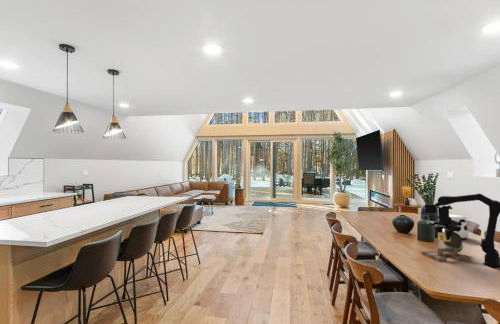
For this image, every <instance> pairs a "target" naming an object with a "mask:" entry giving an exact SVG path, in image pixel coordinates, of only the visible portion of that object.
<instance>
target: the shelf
mask: <svg viewBox="0 0 500 324" xmlns="http://www.w3.org/2000/svg"><path fill="white" fill-rule="evenodd" d="M420 253H421V255H422V256H425V257H427V258H430V259H432V260H435V261H437V262H447V259H448V258H452V259H454V260H456V261H466V260H467V256H465V255H462V254H460V253H459V252H458V248H455V247H452V248H445V247H444V248H443V247H442V248H441V247H438V248H437V249H435V250H434V249H433V250H429V249H428V250H421V251H420ZM446 256H448V258H447V257H446Z"/></svg>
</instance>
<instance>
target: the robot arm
mask: <svg viewBox="0 0 500 324" xmlns="http://www.w3.org/2000/svg"><path fill="white" fill-rule="evenodd" d="M473 201H475V202H476V201H479V202H482V203H483V204H484V205H486V206H488V212H489V215H488V216H489V217H488V221H487V225H486V226H487V227H486V233H485V236H484V238H480V239H481V242H480V244H479V245H480V246H479V247H480V248H481V251H482V252H483V253H484V256H483V258H484V259H483V260H484V261H483V262H484V263H483V262H482V265H484V266H487V267H489V268H493V269H497V268H498V269H499V268H500V253H499V251H498V250H497V249H496V248H495V236H496V235H495V233H496V229H497V224H498V218H499V216H500V201H498V200H496V199H495V200H494V199H492V198H489V197H487V196H485V195H483V194H482V193H474V194H466V195H457V196H454V195H453V196H451V195H442V196H440V197H438V198H437V202H436V203H434V204H430V203H425V205H424V207H425V208H424V213H425V215H436V214H438V215H437V216H436V218H437V219H438V220H430V221H429V222H428V223H429V226H431V227H432V228H433V229H434V230H435V232H436V233H437V234H438V232H443V231H442V229H443V228H444V227H445V228H447V230H445V234H446V238H447V240H449V239H450V237H451V235H452V233H453V232H454V231H460V227H459V226H457V224H458V222H457V221H454V220H451V217H449V214H450V210H453V207H452V206H451V205H452V204H456V203H463V202H473Z"/></svg>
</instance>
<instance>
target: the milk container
mask: <svg viewBox="0 0 500 324" xmlns="http://www.w3.org/2000/svg"><path fill="white" fill-rule="evenodd" d="M449 217H451V220H454V221H457V222H458V224H457V226H459V227H460V231H454V232H455V233H457V234H459V235H460V236H461V238H462V240H463V239H467V238H468V237H469V229H468V217H467V216H465V215H460V214H451V213H449ZM445 230H447V228H445V227H444V228H443V229H442V232H445Z"/></svg>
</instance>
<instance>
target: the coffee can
mask: <svg viewBox="0 0 500 324" xmlns="http://www.w3.org/2000/svg"><path fill="white" fill-rule="evenodd" d="M442 242H443V244H444V248H452V247H455V248H458V253H461V252H462V251H463V250H464V245H463V239H462V238H461V236H460V235H459V234H457V233H455V232H453V233H452V235H451V241H450V242H445V241H444V240H442Z"/></svg>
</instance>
